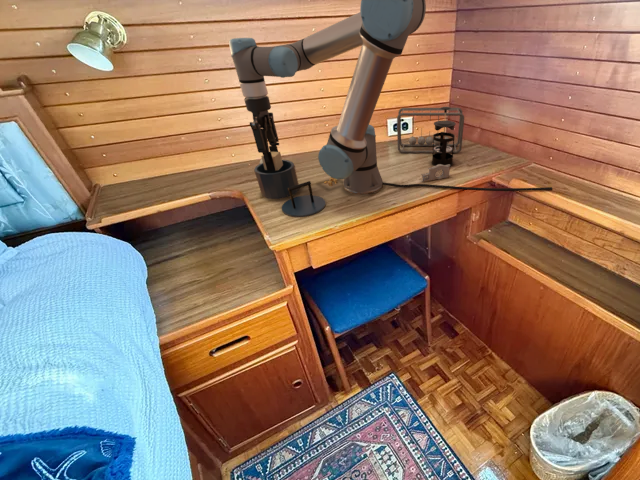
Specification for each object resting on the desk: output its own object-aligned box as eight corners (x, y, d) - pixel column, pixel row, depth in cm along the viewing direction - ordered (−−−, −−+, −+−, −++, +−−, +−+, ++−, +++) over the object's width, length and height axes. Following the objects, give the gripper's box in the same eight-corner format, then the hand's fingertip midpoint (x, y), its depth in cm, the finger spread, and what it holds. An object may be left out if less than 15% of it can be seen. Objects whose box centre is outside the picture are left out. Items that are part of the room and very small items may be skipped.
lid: (333, 208, 115) (330, 184, 109) (294, 223, 107) (288, 198, 102) (313, 194, 124) (308, 171, 118) (275, 207, 116) (268, 183, 111)
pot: (306, 192, 125) (300, 166, 119) (270, 204, 118) (263, 177, 112) (290, 181, 134) (284, 156, 127) (256, 191, 127) (248, 166, 120)
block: (283, 165, 122) (280, 151, 119) (278, 170, 118) (274, 156, 115) (270, 164, 122) (266, 151, 119) (264, 170, 118) (261, 156, 115)
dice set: (333, 180, 134) (333, 175, 133) (340, 183, 131) (340, 179, 130) (322, 183, 131) (322, 179, 130) (329, 187, 128) (329, 183, 127)
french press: (454, 167, 142) (459, 110, 127) (432, 168, 142) (434, 110, 128) (451, 158, 151) (455, 103, 137) (430, 158, 151) (432, 103, 137)
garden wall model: (422, 182, 131) (423, 167, 127) (420, 180, 132) (421, 166, 128) (449, 177, 134) (450, 163, 130) (447, 175, 135) (448, 161, 131)
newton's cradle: (397, 153, 157) (396, 113, 146) (399, 145, 165) (398, 107, 154) (461, 153, 155) (464, 113, 144) (459, 146, 163) (462, 107, 152)
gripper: (256, 90, 113) (273, 157, 127) (231, 103, 99) (253, 176, 113) (277, 90, 112) (292, 158, 127) (255, 103, 98) (274, 177, 113)
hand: (274, 166), depth 120 cm, fingers closed on block, 5 cm apart
